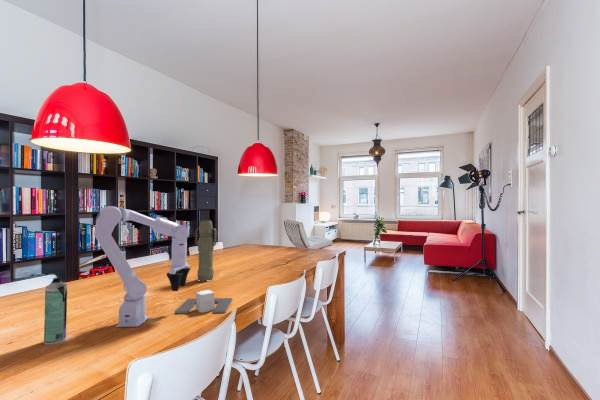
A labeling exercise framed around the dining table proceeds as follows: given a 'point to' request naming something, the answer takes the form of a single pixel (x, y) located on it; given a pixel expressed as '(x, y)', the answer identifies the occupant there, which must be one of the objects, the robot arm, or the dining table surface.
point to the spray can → (55, 312)
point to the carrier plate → (220, 308)
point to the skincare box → (205, 301)
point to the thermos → (205, 250)
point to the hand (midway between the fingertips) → (178, 288)
